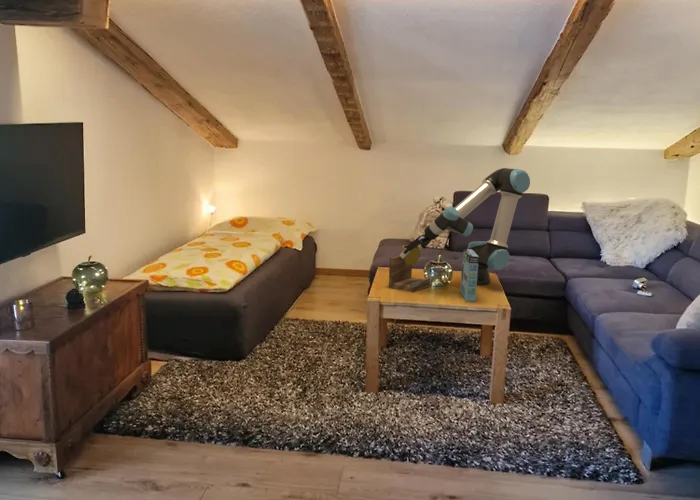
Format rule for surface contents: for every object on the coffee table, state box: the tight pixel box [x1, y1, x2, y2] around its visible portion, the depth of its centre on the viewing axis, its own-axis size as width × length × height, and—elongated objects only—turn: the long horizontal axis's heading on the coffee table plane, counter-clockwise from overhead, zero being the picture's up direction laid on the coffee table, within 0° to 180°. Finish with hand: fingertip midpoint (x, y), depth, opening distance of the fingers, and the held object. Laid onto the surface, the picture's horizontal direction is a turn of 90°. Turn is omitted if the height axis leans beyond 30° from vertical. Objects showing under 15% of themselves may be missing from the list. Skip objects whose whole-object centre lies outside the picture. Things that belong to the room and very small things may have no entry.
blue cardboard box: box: [459, 248, 479, 303], centre depth 309 cm, size 20×5×23 cm, turn 178°
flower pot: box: [402, 244, 421, 265], centre depth 326 cm, size 9×9×9 cm
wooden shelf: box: [388, 254, 430, 293], centre depth 328 cm, size 15×20×16 cm
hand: (407, 255), depth 328 cm, fingers closed on flower pot, 12 cm apart
